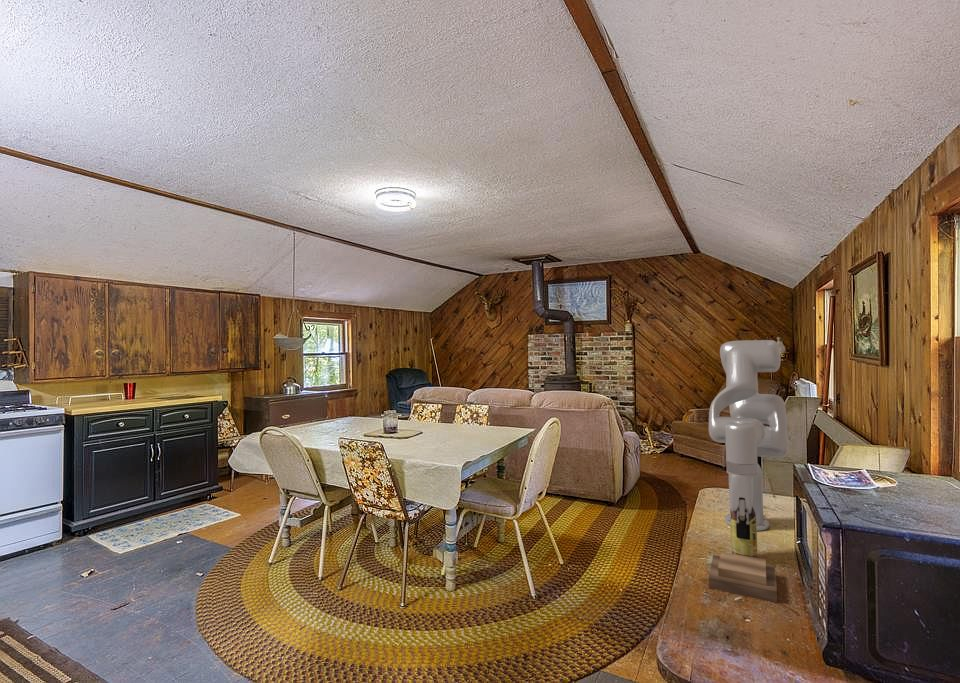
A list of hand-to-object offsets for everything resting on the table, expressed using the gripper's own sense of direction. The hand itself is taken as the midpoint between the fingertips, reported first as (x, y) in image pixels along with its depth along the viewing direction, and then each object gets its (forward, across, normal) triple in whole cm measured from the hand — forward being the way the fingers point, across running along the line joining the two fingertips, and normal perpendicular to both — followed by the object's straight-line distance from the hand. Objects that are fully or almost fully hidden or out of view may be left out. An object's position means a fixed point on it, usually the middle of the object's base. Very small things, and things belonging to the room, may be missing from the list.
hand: (743, 533), depth 132 cm
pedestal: (+7, +15, 0) cm, 16 cm away
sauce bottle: (+7, 0, 0) cm, 7 cm away
